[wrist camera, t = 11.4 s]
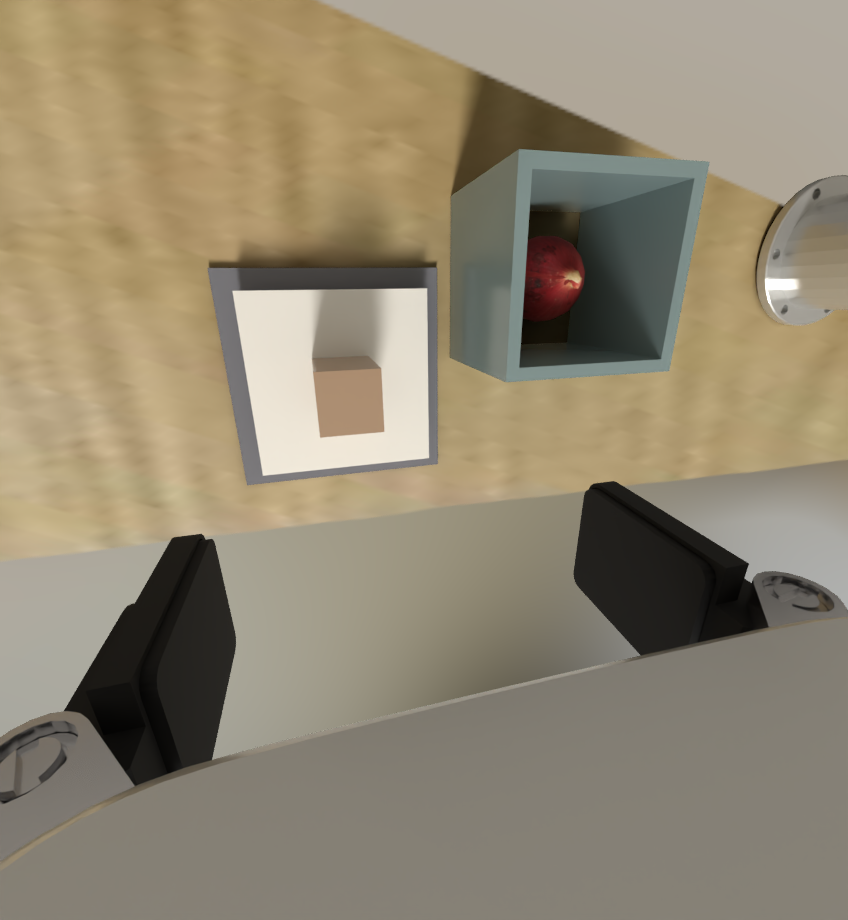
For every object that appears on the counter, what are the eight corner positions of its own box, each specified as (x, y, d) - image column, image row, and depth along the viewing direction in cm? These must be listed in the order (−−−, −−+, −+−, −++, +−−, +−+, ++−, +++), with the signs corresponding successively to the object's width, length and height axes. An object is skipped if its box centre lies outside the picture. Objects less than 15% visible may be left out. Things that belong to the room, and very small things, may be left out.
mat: (435, 267, 33) (436, 267, 32) (436, 462, 38) (437, 464, 38) (208, 268, 29) (207, 267, 29) (247, 483, 35) (247, 485, 34)
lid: (419, 288, 32) (453, 286, 25) (422, 449, 37) (451, 487, 30) (237, 291, 29) (214, 289, 22) (265, 465, 34) (254, 512, 27)
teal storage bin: (590, 201, 34) (709, 161, 24) (574, 351, 38) (669, 371, 28) (450, 195, 31) (518, 149, 21) (449, 357, 35) (506, 382, 25)
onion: (484, 320, 35) (531, 328, 28) (485, 242, 33) (535, 228, 26) (548, 316, 36) (609, 322, 29) (553, 240, 34) (619, 226, 27)
